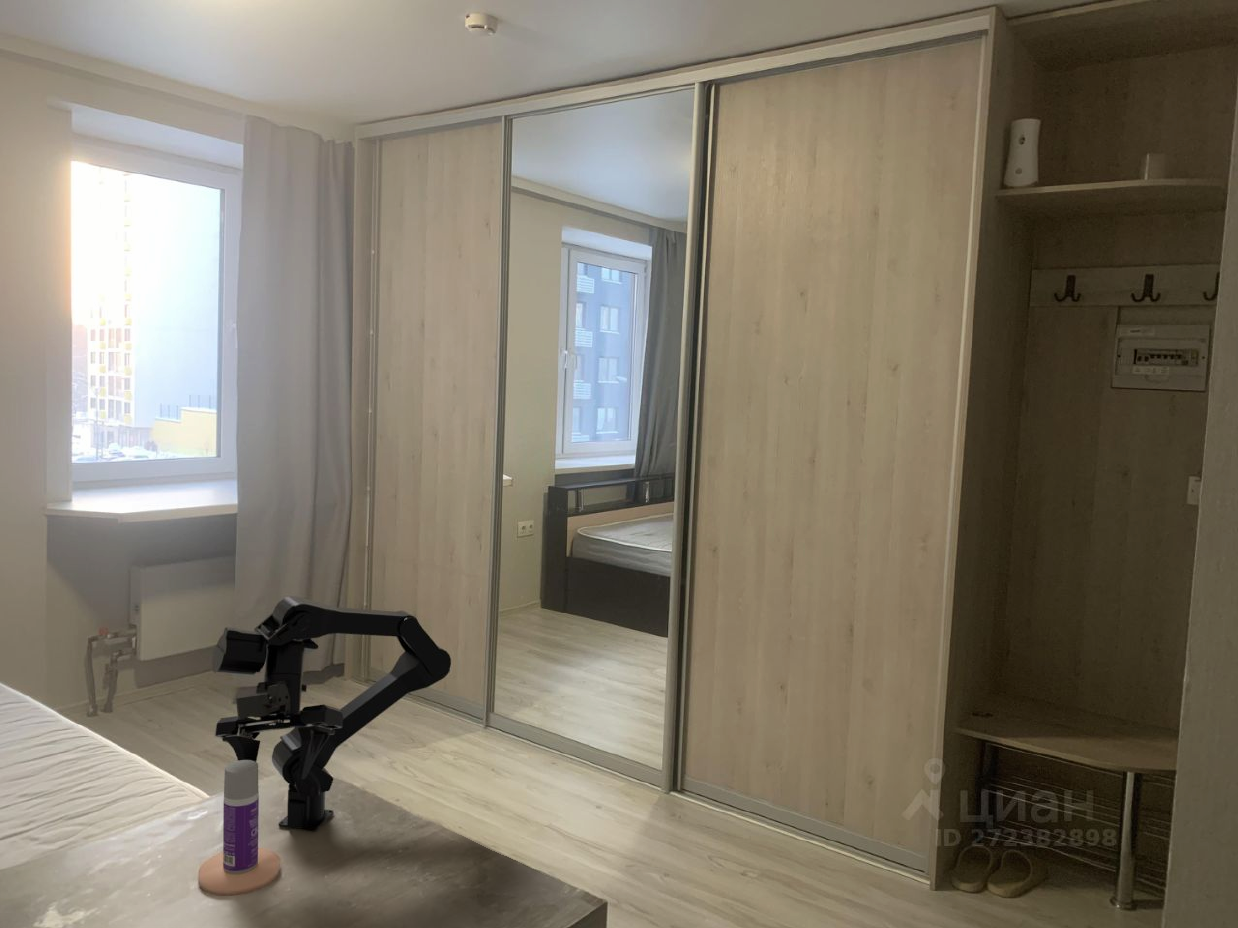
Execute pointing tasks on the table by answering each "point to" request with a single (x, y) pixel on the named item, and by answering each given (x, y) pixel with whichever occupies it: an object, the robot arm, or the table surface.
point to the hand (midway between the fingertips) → (274, 782)
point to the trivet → (238, 875)
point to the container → (240, 817)
